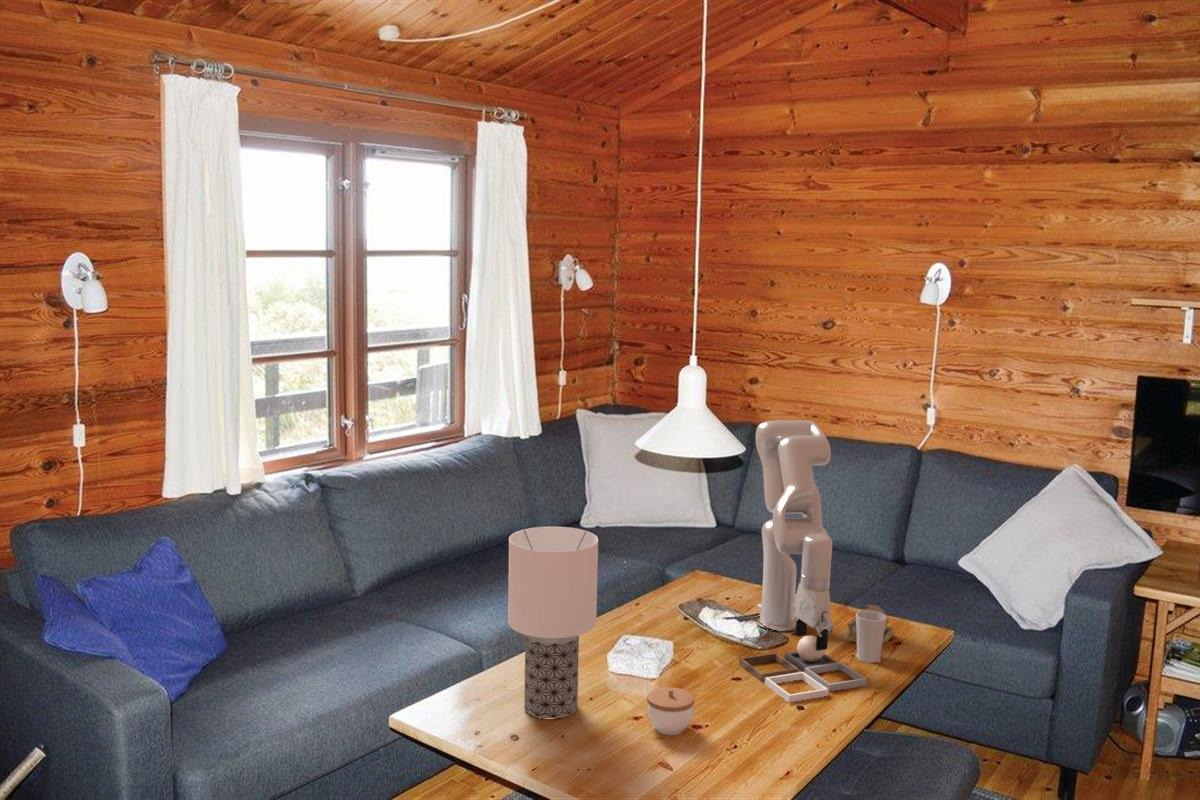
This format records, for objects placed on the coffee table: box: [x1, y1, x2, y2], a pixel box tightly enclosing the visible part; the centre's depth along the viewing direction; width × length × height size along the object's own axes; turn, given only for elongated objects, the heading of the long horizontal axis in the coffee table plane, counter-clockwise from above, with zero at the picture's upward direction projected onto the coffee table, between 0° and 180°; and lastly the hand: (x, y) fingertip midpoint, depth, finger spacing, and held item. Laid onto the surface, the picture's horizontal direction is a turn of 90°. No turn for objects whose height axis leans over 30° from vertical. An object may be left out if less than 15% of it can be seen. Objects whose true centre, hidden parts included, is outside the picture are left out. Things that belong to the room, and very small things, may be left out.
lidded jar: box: [646, 686, 695, 736], centre depth 237 cm, size 11×11×9 cm
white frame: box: [764, 671, 829, 704], centre depth 260 cm, size 11×11×2 cm
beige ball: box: [796, 635, 826, 662], centre depth 276 cm, size 7×7×7 cm
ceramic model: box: [843, 603, 895, 645], centre depth 295 cm, size 14×11×10 cm
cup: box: [855, 609, 887, 664], centre depth 280 cm, size 8×8×12 cm
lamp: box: [507, 526, 599, 719], centre depth 244 cm, size 21×21×42 cm
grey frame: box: [804, 661, 868, 692], centre depth 267 cm, size 11×11×2 cm
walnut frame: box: [738, 652, 800, 682], centre depth 272 cm, size 11×11×2 cm
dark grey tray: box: [783, 650, 839, 672], centre depth 277 cm, size 10×10×2 cm
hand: (810, 642), depth 277 cm, fingers open, 9 cm apart
